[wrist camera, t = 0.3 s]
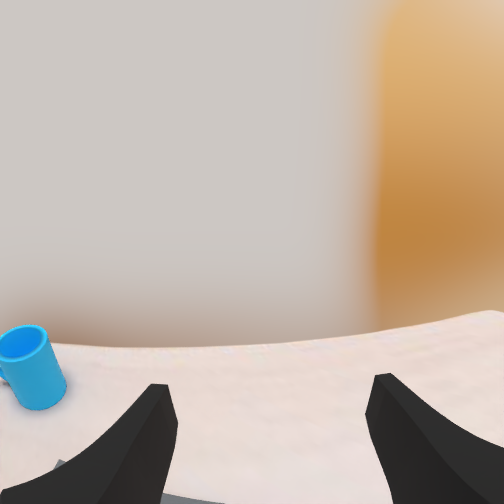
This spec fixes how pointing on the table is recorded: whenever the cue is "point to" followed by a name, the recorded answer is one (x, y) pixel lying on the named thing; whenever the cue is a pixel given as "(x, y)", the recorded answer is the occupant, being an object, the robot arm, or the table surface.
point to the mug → (31, 367)
